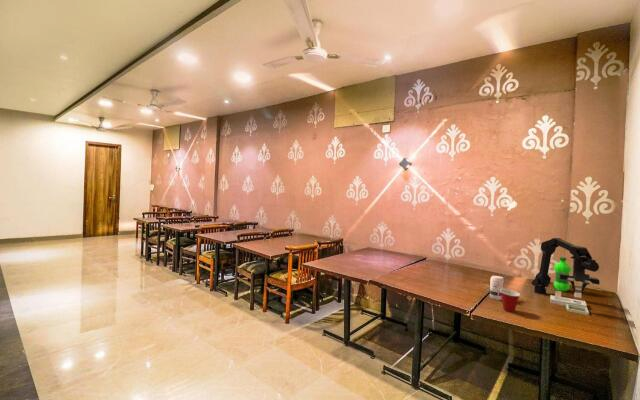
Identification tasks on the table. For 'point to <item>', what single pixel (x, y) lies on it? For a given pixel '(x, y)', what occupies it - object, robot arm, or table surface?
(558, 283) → the plastic bottle
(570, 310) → the parts tray
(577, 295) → the fuse
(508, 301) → the plastic cup
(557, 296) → the fuse
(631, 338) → the table surface
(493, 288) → the supplement can
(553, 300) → the fuse block
